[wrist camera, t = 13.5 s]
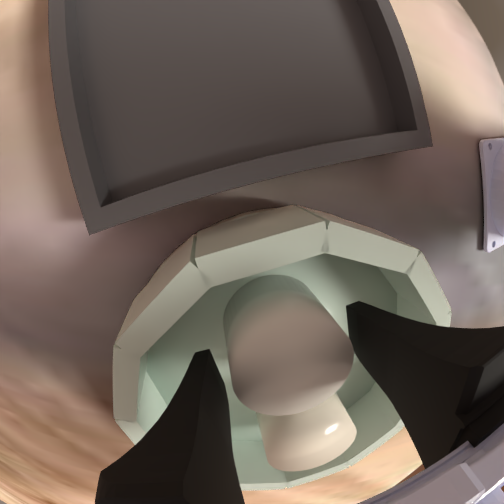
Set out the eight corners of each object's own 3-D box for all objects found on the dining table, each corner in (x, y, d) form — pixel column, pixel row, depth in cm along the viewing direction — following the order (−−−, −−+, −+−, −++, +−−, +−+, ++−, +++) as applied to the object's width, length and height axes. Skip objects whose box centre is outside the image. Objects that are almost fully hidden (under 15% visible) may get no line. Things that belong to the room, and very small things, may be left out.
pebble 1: (309, 262, 13) (350, 301, 9) (322, 341, 14) (355, 392, 10) (210, 290, 12) (214, 344, 9) (237, 367, 14) (249, 427, 10)
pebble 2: (326, 356, 15) (357, 406, 11) (331, 406, 16) (355, 452, 12) (244, 381, 14) (257, 439, 10) (262, 428, 16) (276, 479, 12)
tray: (316, -75, 8) (329, -96, 6) (401, 146, 13) (432, 146, 11) (68, -32, 7) (53, -53, 5) (109, 221, 12) (89, 235, 10)
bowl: (391, 175, 13) (453, 185, 9) (396, 390, 18) (426, 428, 14) (84, 262, 12) (41, 305, 8) (195, 455, 17) (198, 505, 13)
